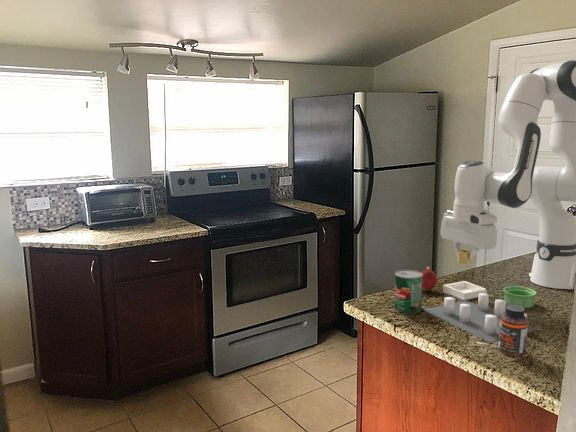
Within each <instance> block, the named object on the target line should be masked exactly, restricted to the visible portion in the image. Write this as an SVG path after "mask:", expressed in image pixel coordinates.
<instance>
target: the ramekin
mask: <svg viewBox="0 0 576 432" xmlns="http://www.w3.org/2000/svg"><path fill="white" fill-rule="evenodd" d="M502 291H503V295H504V296H503V297H504V298H503V299H504V301H506V305H507V306H509V305H516V306H520V307H523V308H524V309H529V308H530V309H531V308H533V307H534V304H535V299H536V296H537V292H536V290H534V289H532V288H529V287H526V286H521V285H520V286H518V285H510V286H509V285H508V286H505V287H504V288H503V290H502Z"/></svg>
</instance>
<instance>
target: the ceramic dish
mask: <svg viewBox="0 0 576 432" xmlns="http://www.w3.org/2000/svg"><path fill="white" fill-rule="evenodd" d="M442 293H443V294H445V295H450V296H452V297H455V298H458V299H460V300H462V301H465V300H467V301H469V300H472V299H476V298H477V299H478V298H479V294H480V293H486V294H487V288H485V287H482V286H480V285H477V284H474V283H472V282H469V281H466V280H462V281H458V282H451V283H446V284H443V285H442Z"/></svg>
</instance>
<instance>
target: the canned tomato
mask: <svg viewBox="0 0 576 432" xmlns="http://www.w3.org/2000/svg"><path fill="white" fill-rule="evenodd" d="M422 276H423V274H422V272H421V271H417V270H414V269H400V270H396V271H395V272H394V303H393V305H394V306H393V307H394V310H395V311H397V312H400V313H404V314H416V313H419V312H421V311H422V306H423V305H422V302H423V301H422V299H423V298H422V297H423V296H422V295H423V288H422Z"/></svg>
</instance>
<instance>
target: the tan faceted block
mask: <svg viewBox="0 0 576 432" xmlns="http://www.w3.org/2000/svg"><path fill="white" fill-rule="evenodd" d="M471 252H472V249H461V250H458V254H457V255H456V257H457V258H456V262H457V263H458V264H464V265H470V264H473V260H469V259H468V257H469V256H468V254H471Z"/></svg>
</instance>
